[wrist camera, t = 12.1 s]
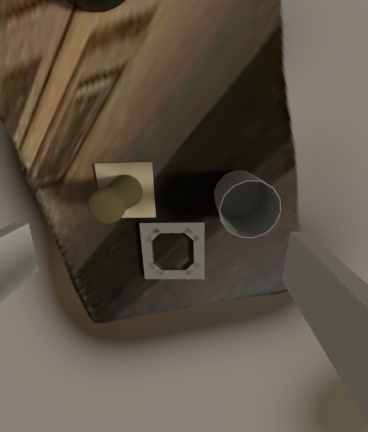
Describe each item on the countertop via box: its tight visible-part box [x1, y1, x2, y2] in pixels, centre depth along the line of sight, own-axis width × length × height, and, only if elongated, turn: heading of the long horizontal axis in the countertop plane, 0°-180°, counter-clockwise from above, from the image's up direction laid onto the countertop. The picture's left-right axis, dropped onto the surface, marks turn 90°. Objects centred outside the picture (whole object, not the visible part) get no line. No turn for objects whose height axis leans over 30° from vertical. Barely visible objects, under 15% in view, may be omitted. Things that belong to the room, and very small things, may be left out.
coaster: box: [95, 162, 156, 218], centre depth 42 cm, size 10×10×1 cm
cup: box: [214, 170, 281, 238], centre depth 36 cm, size 8×8×10 cm
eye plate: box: [139, 221, 204, 279], centre depth 45 cm, size 12×12×1 cm
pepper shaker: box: [87, 174, 143, 224], centre depth 36 cm, size 6×6×11 cm
